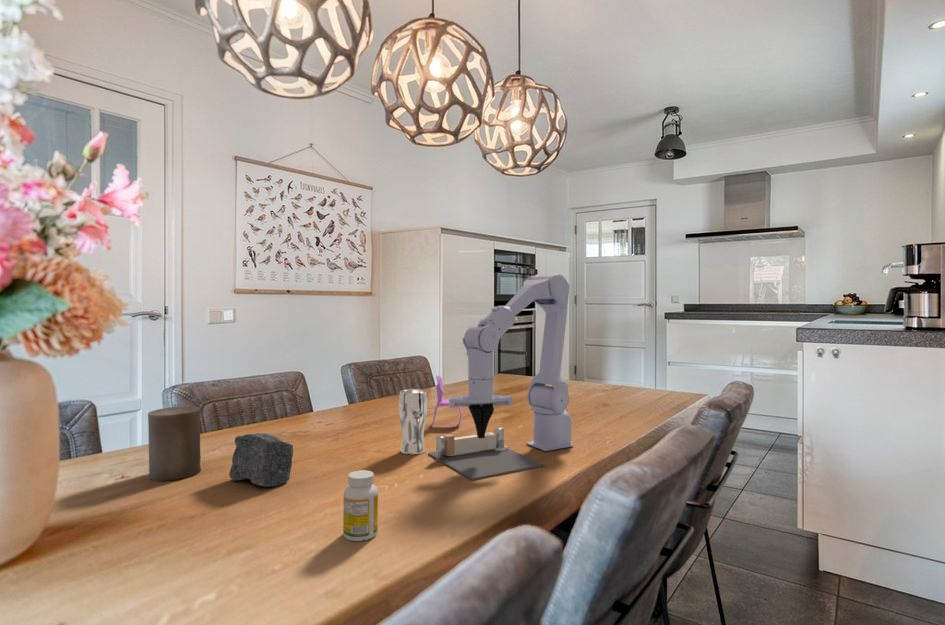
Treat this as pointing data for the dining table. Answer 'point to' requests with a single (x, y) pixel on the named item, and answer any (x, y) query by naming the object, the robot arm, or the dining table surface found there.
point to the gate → (468, 443)
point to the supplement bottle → (360, 507)
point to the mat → (488, 463)
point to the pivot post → (499, 439)
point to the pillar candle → (174, 443)
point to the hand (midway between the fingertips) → (480, 437)
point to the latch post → (440, 448)
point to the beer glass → (413, 420)
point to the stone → (261, 459)
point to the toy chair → (442, 401)
